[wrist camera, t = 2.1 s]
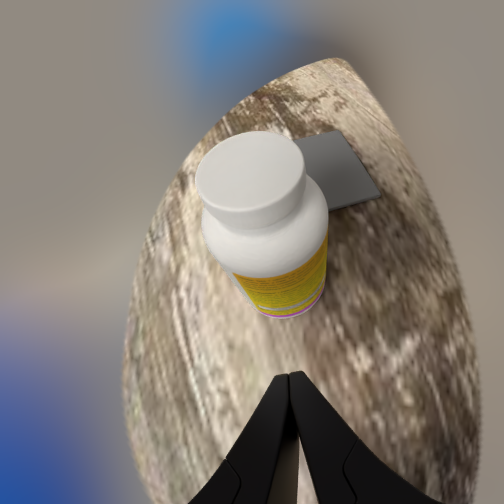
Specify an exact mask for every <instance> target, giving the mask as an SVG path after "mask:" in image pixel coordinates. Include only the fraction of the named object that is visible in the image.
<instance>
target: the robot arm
mask: <svg viewBox="0 0 504 504" xmlns="http://www.w3.org/2000/svg"><path fill="white" fill-rule="evenodd" d="M299 437H300V440H301V444H302V448H303V451H304V455H305V458H306V462H307V465H308V469H309V472H310V476H311V480H312V483H313V487H314V490H315V494H316V497H317V501H318V504H444V503H441V502H439V501H436V500H434V499H432V498H430V497H429V496H427V495H425V494H424V493H422V492H421V491H420V490H418V489H417V488H415V487H414V486H413V485H411V484H410V483H409V482H407V481H406V480H405V479H403V478H402V477H401V476H399V475H398V474H397V473H395V472H394V471H393V470H391V469H390V468H389V467H388V466H387V465H386V464H384V463H383V462H382V461H381V460H380V459H379V458H378V457H377V456H376V455H375V454H374V453H373V452H372V451H371V450H370V449H369V448H368V447H367V446H366V445H365V444H364V443H363V441H362V440H361V439H359V437H358V436H357V435H356V434H355V432H354V431H353V430H352V429H351V428H350V427H349V426H348V424H347V423H346V422H345V421H344V420H343V419H342V417H341V416H340V415H339V414H338V413H337V411H336V410H335V409H334V408H333V407H332V406H331V404H330V403H329V402H328V401H327V400H326V398H325V397H324V396H323V395H322V394H321V392H320V391H319V390H318V389H317V388H316V386H315V385H314V384H313V383H312V382H311V380H310V379H309V378H308V377H307V375H306V374H305V373H304V372H303V371H296V372H291V373H290V374H289V375H288V374H287V373H286V374H280V375H276V376H274V378H273V380H272V382H271V383H270V385H269V387H268V389H267V390H266V392H265V394H264V396H263V397H262V399H261V401H260V403H259V404H258V406H257V408H256V409H255V411H254V413H253V414H252V416H251V418H250V419H249V421H248V423H247V424H246V426H245V428H244V429H243V431H242V432H241V434H240V436H239V437H238V439H237V440H236V442H235V443H234V445H233V447H232V448H231V450H230V451H229V453H228V454H227V456H226V459H227V460H226V459H224V460H223V462H222V463H221V465H220V466H219V468H218V469H217V470H216V472H215V473H214V474H213V476H212V477H211V478H210V480H209V481H208V482H207V483H206V485H205V486H204V487H203V488H202V489H201V490H200V491H199V492H198V494H197V495H196V496H195V497H194V498H193V499H192V500H191V501H190V502H189V503H188V504H297V490H298V470H299Z"/></svg>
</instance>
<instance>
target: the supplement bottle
mask: <svg viewBox="0 0 504 504" xmlns="http://www.w3.org/2000/svg"><path fill="white" fill-rule="evenodd" d="M195 185H196V188H197V192H198V194H199V196H200V198H201V200H202V201H203V204H204V209H203V213H202V220H201V226H202V234H203V238H204V241H205V243H206V245H207V247H208V249H209V251H210V252H211V254H212V255H213V256H214V258H215V259H216V260H217V262H218V263H219V264H220V266H221V267H222V268H223V270H224V271H225V272H226V274H227V275H228V276H229V278H230V279H231V280H232V282H233V283H234V284H235V286H236V287H237V288H238V289H239V291H240V292H241V293H242V295H243V296H244V297H245V299H246V300H247V301H248V303H249V304H250V305H251V306H252V307H253V308H254V309H255V310H256V311H258V312H259V313H261V314H263V315H265V316H268V317H271V318H277V319H287V318H292V317H295V316H298V315H301V314H303V313H304V312H306V311H308V310H309V309H310V308H311V307H312V306H313V305H314V304H315V303H316V302H317V301H318V299H319V298H320V296H321V294H322V292H323V289H324V285H325V279H326V261H327V242H328V207H327V203H326V200H325V197H324V195H323V193H322V191H321V189H320V188H319V186H318V185H317V184H316V182H315V181H314V180H313V179H312V178H311V177H309V176H308V175H307V174H306V169H305V161H304V157H303V154H302V152H301V150H300V148H299V147H298V146H297V145H296V144H295V143H294V142H293V141H292V140H290V139H289V138H287V137H285V136H283V135H281V134H278V133H273V132H266V131H253V132H246V133H242V134H238V135H235V136H232V137H230V138H228V139H226V140H224V141H222V142H220V143H219V144H217V145H216V146H214V147H213V148H212V149H211V150H210V151H209V152H208V153H207V154H206V155H205V156H204V158H203V159H202V160H201V162H200V163H199V166H198V168H197V171H196V175H195Z"/></svg>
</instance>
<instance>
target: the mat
mask: <svg viewBox="0 0 504 504" xmlns="http://www.w3.org/2000/svg"><path fill="white" fill-rule="evenodd" d="M293 142H294V143H295V144H296V145H297V146H298V147H299V148H300V150H301V152H302V154H303V157H304V161H305V169H306V174H307V175H308V176H309V177H311V178H312V179H313V180H314V181H315V182H316V184H317V185H318V186H319V188H320V189H321V191H322V193H323V195H324V197H325V200H326V203H327V207H328V212H329V211H332V210H336V209H339V208H343V207H346V206H350V205H353V204H357V203H360V202H364V201H367V200H371V199H375V198H378V197H380V196H381V194H380V192H379V190H378V189H377V187H376V185H375V184H374V182H373V180H372V179H371V177H370V176H369V174H368V172H367V171H366V169H365V168H364V166H363V165H362V163H361V162H360V160H359V159H358V157H357V156H356V154H355V153H354V151H353V150H352V148H351V147H350V145H349V144H348V143H347V141H346V140H345V138H344V137H343V135H342V134H341V133H340V131H339V130H336V131H332V132H327V133H323V134H318V135H314V136H310V137H306V138H302V139H298V140H294V141H293Z"/></svg>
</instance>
